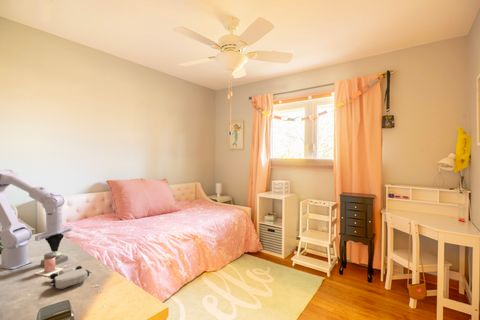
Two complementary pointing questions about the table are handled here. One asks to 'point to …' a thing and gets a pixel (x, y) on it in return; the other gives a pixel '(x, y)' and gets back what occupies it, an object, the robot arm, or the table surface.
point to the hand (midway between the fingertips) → (54, 251)
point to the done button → (57, 254)
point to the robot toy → (69, 277)
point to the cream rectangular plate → (48, 272)
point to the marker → (49, 262)
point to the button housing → (58, 260)
